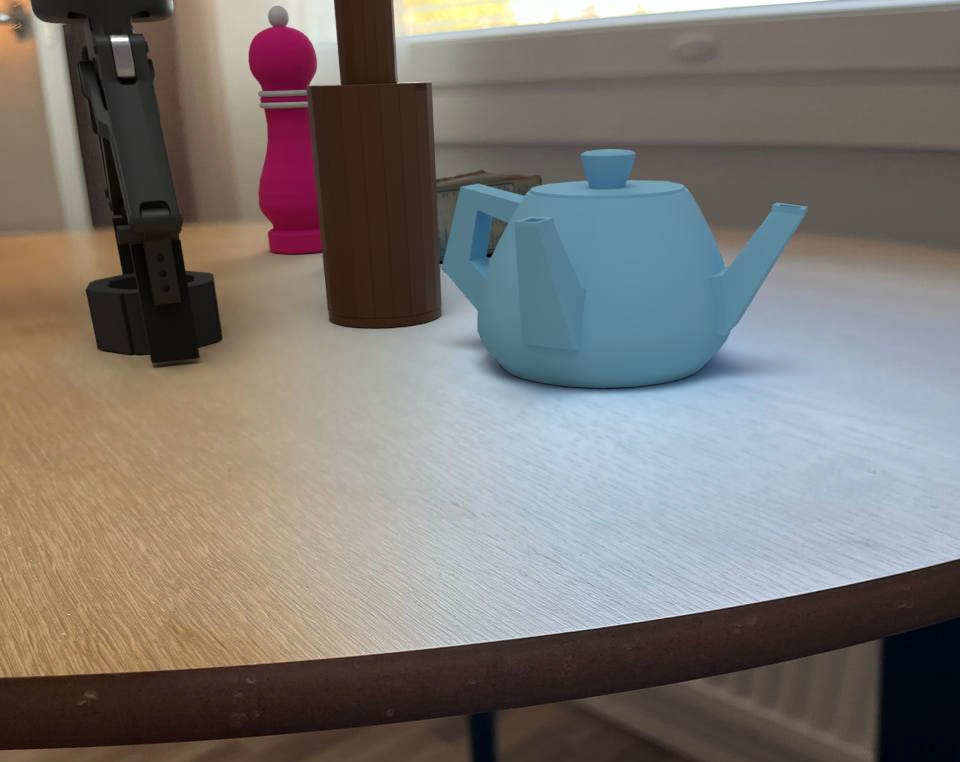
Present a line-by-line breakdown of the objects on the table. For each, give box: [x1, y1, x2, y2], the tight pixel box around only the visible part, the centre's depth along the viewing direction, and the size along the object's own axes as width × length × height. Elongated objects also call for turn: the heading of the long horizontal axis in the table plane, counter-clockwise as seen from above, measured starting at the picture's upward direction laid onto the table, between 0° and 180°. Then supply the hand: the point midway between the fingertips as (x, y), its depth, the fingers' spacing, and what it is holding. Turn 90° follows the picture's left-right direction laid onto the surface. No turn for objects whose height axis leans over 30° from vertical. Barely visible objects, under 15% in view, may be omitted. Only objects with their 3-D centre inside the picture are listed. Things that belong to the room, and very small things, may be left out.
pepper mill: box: [248, 5, 322, 255], centre depth 94 cm, size 7×7×20 cm
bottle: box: [306, 0, 442, 329], centre depth 66 cm, size 8×8×19 cm
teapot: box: [441, 148, 809, 389], centre depth 55 cm, size 15×15×11 cm
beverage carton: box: [436, 169, 543, 262], centre depth 91 cm, size 8×19×7 cm, turn 125°
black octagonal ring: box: [85, 270, 223, 356], centre depth 65 cm, size 8×8×4 cm
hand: (162, 337), depth 65 cm, fingers open, 13 cm apart
